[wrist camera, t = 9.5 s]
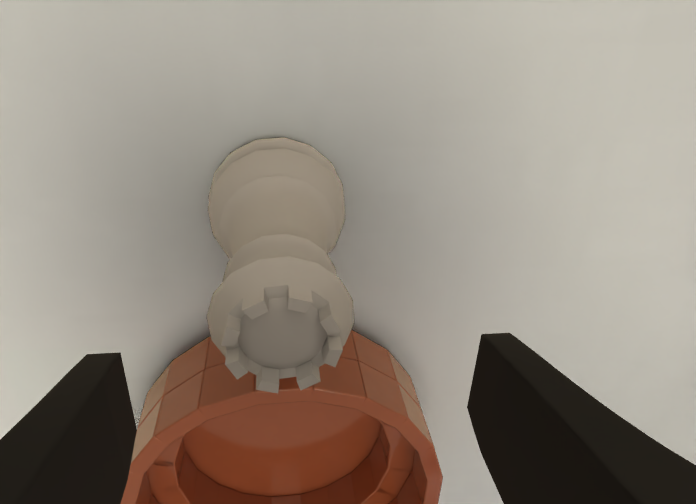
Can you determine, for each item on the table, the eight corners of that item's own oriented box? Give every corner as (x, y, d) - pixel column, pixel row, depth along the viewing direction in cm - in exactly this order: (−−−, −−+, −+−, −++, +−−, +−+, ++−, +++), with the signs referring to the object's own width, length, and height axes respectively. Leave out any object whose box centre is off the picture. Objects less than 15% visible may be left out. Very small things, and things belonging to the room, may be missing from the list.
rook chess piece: (366, 171, 18) (429, 306, 11) (303, 273, 20) (323, 446, 13) (246, 106, 16) (229, 216, 9) (188, 222, 18) (137, 389, 11)
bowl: (402, 497, 27) (423, 582, 23) (162, 519, 25) (144, 615, 21) (428, 305, 21) (462, 378, 17) (122, 318, 19) (88, 402, 16)
